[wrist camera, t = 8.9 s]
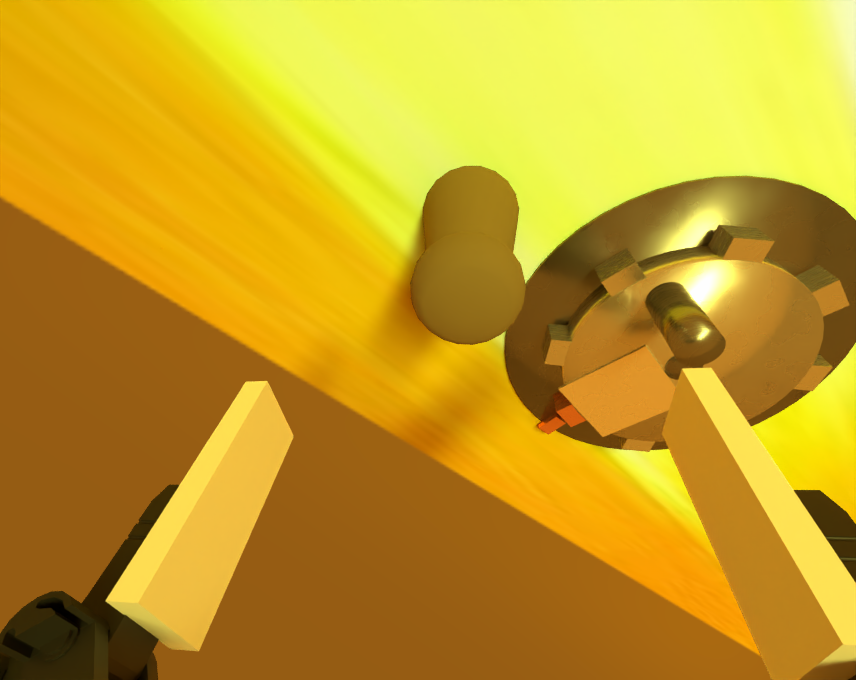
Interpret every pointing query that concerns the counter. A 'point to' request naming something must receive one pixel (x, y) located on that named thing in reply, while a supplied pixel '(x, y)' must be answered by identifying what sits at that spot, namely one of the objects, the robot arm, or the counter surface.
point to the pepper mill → (469, 258)
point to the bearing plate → (667, 231)
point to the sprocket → (690, 333)
